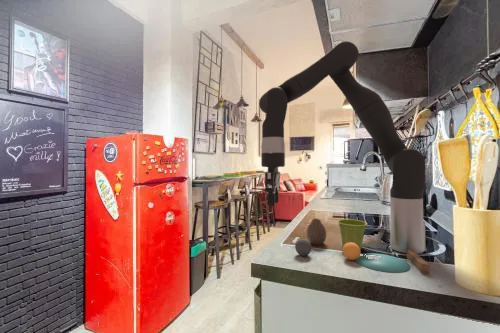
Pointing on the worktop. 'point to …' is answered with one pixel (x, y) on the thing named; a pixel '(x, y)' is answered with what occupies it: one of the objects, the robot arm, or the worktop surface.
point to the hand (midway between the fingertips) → (273, 204)
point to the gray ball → (303, 247)
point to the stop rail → (418, 262)
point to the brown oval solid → (316, 232)
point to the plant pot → (352, 231)
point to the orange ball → (351, 251)
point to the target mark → (384, 263)
